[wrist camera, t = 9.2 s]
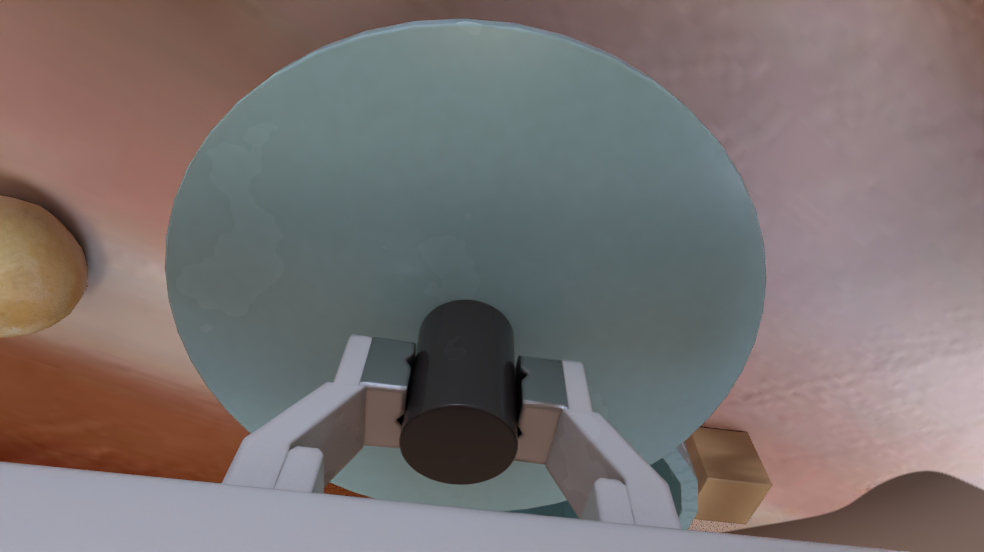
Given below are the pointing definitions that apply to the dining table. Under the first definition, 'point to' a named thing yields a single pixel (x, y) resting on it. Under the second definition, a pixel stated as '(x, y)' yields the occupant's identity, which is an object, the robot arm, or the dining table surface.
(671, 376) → the pot lid
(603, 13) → the dining table surface
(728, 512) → the block
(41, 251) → the onion
